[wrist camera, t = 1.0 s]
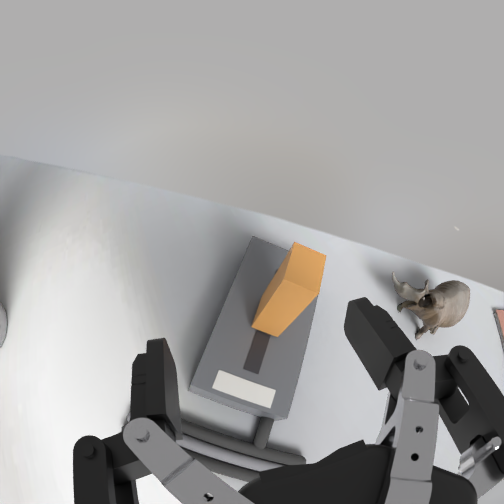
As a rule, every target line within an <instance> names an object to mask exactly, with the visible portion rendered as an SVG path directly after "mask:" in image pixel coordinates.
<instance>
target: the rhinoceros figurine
mask: <svg viewBox="0 0 504 504" xmlns="http://www.w3.org/2000/svg"><path fill="white" fill-rule="evenodd" d="M392 281H393V282H394V288H395V291H396V292H397V293H398V295H399V296H400V297H402V298H405V299H407V300H408V301H405V302H403V303H401V304H399V305H398V307H397V310H399V312H401V310H402V308H403V307H404V308H406V309H411V311H413V312H414V313H415V314H416V315H417V316H418V317H419V318H420V319H422V321H423V325H424V327H422V328H421V329H419V332H418V333H416V334H415V338H416V339H419V338H420V337H421V336H422V335H423V333H425V332H427V331H428V330H430V331H431V332H430V333H431V334H433V335H434V334H435V332H436V330H437V329H438V327H451V326H454V325H455V324H457V323H458V322H459V321H460V320H461V319H462V318H463V317H464V315H465V313H466V311H467V309H468V306H469V300H470V289H469V287H468V286H467V285H465V284H464V283H462V282H460V281H454V280H452V281H447V282H444V283H441V284H440V285H438V286H437V287H436V288H435V289H432V290H428V283H429V281H428V280H426V282H425V288H424V289H415V288H413V287H411V286H410V285H409V284H408V283H407V282H403V283H400V282H399V281H398V280H397V279H396V277H395V275H394V272H393V273H392ZM399 312H398V313H399Z"/></svg>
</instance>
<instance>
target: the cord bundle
mask: <svg viewBox="0 0 504 504" xmlns="http://www.w3.org/2000/svg"><path fill="white" fill-rule="evenodd" d="M127 421H128V422H129V421H130V413H129V414H128V415H127ZM273 422H274V419H272V418H269V417H264V416H262V417H261V420H260V423H259V426H258V429H257V432H256V435H255V438H254V441H253V444H252V443H249V442H245V441H242V440H239V439H236V438H233V437H230V436H227V435H224V434H221V433H218V432H215V431H212V430H209V429H207V428H204V427H201V426H199V425H196V424H193V423H191V422H188V421H186V420H183V419H181V426H182V433H185V434H187V435H190V436H192V437H195V438H198V439H200V440H203V441H206V442H209V443H212V444H214V445H212V444H209V443H206V442H203V441H200V440H198V439H195V438H192V437H190V436H187V435H185V434H182V435H183V440H176V444H177V445H179V446H181V447H184V448H186V449H184V448H182V449H183V450H184V451H185V452H186V453H187V454H188V455H190V456H191V457H192V458H195V459H196V460H197V461H199V462H200V463H201V464H202V465H204V466H205V467H206V468H207V469H209V470H210V471H212V472H215V473H219V474H222V475H225V476H229V477H232V478H236V479H240V480H243V481H247V482H250V481H252V480H253V479H255V478H257V477H259V472H256V471H264V470H269V469H273V468H277V467H281V466H285V465H301V464H306V459H305V458H304V457H303V456H299V455H294V454H290V453H286V452H282V451H278V450H274V449H270V448H266V444H267V441H268V438H269V435H270V432H271V428H272V425H273ZM126 425H127V424H126ZM126 425H124V426H123V427H122V431H123V430H124V428H125V427H126ZM215 445H217V446H215ZM218 446H220V447H218ZM221 447H223V448H221ZM224 448H226V449H224ZM187 449H189V450H192V451H194V452H192V451H189V450H187ZM227 449H230V450H233V451H236V452H239V453H236V452H233V451H230V450H227ZM195 452H197V453H200V454H203V455H206V456H209V457H212V458H215V459H218V460H221V461H224V462H227V463H230V464H227V463H224V462H221V461H218V460H215V459H212V458H209V457H206V456H203V455H200V454H197V453H195ZM240 453H243V454H246V455H250V456H253V457H250V456H246V455H243V454H240ZM254 457H257V458H261V459H264V460H261V459H257V458H254ZM265 460H268V461H265ZM269 461H272V462H269ZM273 462H277V463H281V464H285V465H281V464H277V463H273ZM231 464H234V465H237V466H234V465H231ZM238 466H241V467H244V468H241V467H238ZM245 468H248V469H252V470H256V471H252V470H248V469H245Z"/></svg>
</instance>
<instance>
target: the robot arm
mask: <svg viewBox="0 0 504 504" xmlns="http://www.w3.org/2000/svg"><path fill="white" fill-rule="evenodd" d="M6 330H7V317H6V312H5V309H4V307H3V305H2V304H1V302H0V347H1V346H2V344H3V341H4V339H5V335H6ZM344 331H345V335H346V337H347V339H348V340H349V342H350V344H351V345H352V347H353V349H354V350H355V352H356V353H357V355H358V357H359V358H360V360H361V362H362V363H363V365H364V367H365V368H366V370H367V372H368V373H369V375H370V377H371V378H372V380H373V382H374V383H375V385H376V387H377V388H378V390H381V389H384V388H386V387H387V388H388V389H389V393H388V397H387V403H386V408H385V413H384V418H383V423H382V427H381V430H380V433H379V435H378V437H377V440H376V443H375V444H366V445H365V443H364V441H363V440H360V441H358V442H355V443H353V444H350V445H348V446H345V447H342V448H340V449H338V450H336V451H335V452H333V453H332V454H330V455H329V456H327V457H325V458H324V459H322V460H320V461H319V462H317V463H314V464H301V465H285V466H281V467H277V468H273V469H269V470H264V471H260V472H259V477H257V478H255V479H253V480H252V481H250V482H248V483H247V484H246V485H245V486H243V487H242V488H241V489H240V490H239V491H238V492H237V491H236V490H234V489H233V488H232V487H230V486H229V485H228V484H226V483H225V482H224V481H222V480H221V479H220V478H219V477H217V476H216V475H215V474H213V473H212V472H211V471H210V470H209V469H207V468H206V467H205V466H204V465H202V464H201V463H200V462H199V461H197V460H196V459H195V458H192V457H191V456H190V455H188V454H187V453H186V452H185V451H184V450H183V449H182V448H181V447H180V446H178V445H177V444H176V440H183V435H182V426H181V417H180V407H179V396H178V384H177V372H176V366H175V362H174V359H173V357H172V354H171V352H170V349H169V346H168V344H167V341H166V339H165V338H160V339H153V340H148V341H147V350H146V353H143V354H138V355H137V357H136V359H135V361H134V362H133V364H132V382H131V384H132V386H131V412H130V421H129V423H128V424H127V425H126V427H125V428H124V430H123V431H122V432H120V433H118V434H116V435H113V436H111V437H108V438H105V439H102V440H100V439H99V438H97V437H95V436H84V437H82V438H80V439H79V440H78V441H77V442H76V444H75V446H74V449H73V483H74V503H75V504H139V501H138V495H137V488H136V479H138V478H141V477H144V476H147V475H149V474H152V473H153V474H154V475H155V476H156V477H157V478H158V479H159V481H160V482H161V483H162V484H163V486H164V487H165V488H166V489H167V490H168V491H169V492H170V493H171V494H173V495H174V496H175V497H176V498H177V499H178V500H179V501H180V502H181V503H182V504H477V499H478V498H480V497H481V496H482V495H484V494H485V493H486V492H488V491H489V490H490V489H491V488H492V487H494V486H495V485H496V484H497V483H499V482H500V481H502V480H504V396H503V394H502V393H501V391H500V390H499V388H498V387H497V385H496V384H495V382H494V381H493V380H492V378H491V377H490V375H489V374H488V373H487V371H486V370H485V368H484V367H483V366H482V364H481V363H480V361H479V360H478V359H477V357H476V356H475V355H474V353H473V352H472V351H471V350H470V349H469V348H467V347H465V346H455V347H453V348H452V349H451V351H450V352H449V354H448V355H441V356H432V355H431V354H429V353H428V352H426V351H423V350H417V349H416V348H415V347H414V346H413V344H412V343H411V342H410V340H409V339H408V338H407V337H406V335H405V334H404V333H403V331H402V330H401V329H400V328H399V327H398V325H397V324H396V323H395V321H393V319H392V318H391V316H390V315H389V314H388V313H387V311H385V310H384V309H382V308H381V307H379V306H378V305H376V306H373V305H372V304H371V302H370V301H369V300H368V299H367V298H366V297H363V298H359V299H355V300H352V301H349V303H348V307H347V313H346V318H345V323H344ZM458 387H459V388H460V389H461V391H462V392H463V394H464V396H465V397H466V399H467V400H468V402H469V405H468V404H467V402H466V400H465V399H464V397H463V396H462V394H461V393H460V391H459V389H458ZM439 415H440V417H441V418H442V420H443V422H444V424H445V426H446V427H447V429H448V431H449V433H450V435H451V437H452V438H453V440H454V442H455V444H456V446H457V448H458V450H459V452H460V454H461V457H460V465H459V467H458V470H459V472H461V473H462V476H460V475H457V474H455V473H452V472H449V471H446V470H444V469H441V468H439V467H436V466H433V461H434V454H435V447H436V439H437V430H438V419H439Z"/></svg>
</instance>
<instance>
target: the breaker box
mask: <svg viewBox="0 0 504 504" xmlns="http://www.w3.org/2000/svg"><path fill="white" fill-rule="evenodd" d="M288 252H289V251H288V250H285V249H283V248H281V247H278V246H276V245H273V244H271V243H269V242H266V241H264V240H262V239H259V238H257V237H254V236H253V237H252V239H251V241H250V244H249V246H248V248H247V251H246V253H245V256H244V258H243V260H242V263H241V265H240V267H239V270H238V272H237V274H236V277H235V279H234V282H233V284H232V286H231V289H230V291H229V293H228V296H227V298H226V301H225V303H224V305H223V308H222V310H221V312H220V315H219V317H218V320H217V322H216V324H215V327H214V329H213V332H212V334H211V336H210V339H209V341H208V344H207V346H206V348H205V351H204V353H203V356H202V358H201V360H200V363H199V365H198V368H197V370H196V372H195V375H194V377H193V380H192V382H191V384H190V387H189V390H188V391H190V392H193V393H195V394H198V395H200V396H203V397H205V398H208V399H210V400H213V401H215V402H218V403H221V404H224V405H226V406H229V407H232V408H235V409H238V410H240V411H243V412H246V413H249V414H252V415H256V416H259V417H262V416H264V417H269V418H272V419H274V421H278V420H283V419H287V418H288V414H289V411H290V407H291V404H292V400H293V396H294V393H295V389H296V385H297V382H298V378H299V374H300V370H301V366H302V362H303V358H304V354H305V350H306V346H307V342H308V338H309V334H310V329H311V325H312V320H313V316H314V311H315V307H316V302H317V297H318V295H317V296H316V297H315V298H314V299H313V300H312V302H311V303H310V304H309V305H308V306H307V307H306V308H305V309H304V310H303V311H302V312H301V313H300V314H299V315H298V317H297V318H296V319H295V320H294V321H293V322H292V323H291V324H290V325H289V326H288V327H287V328H286V329H285V330H284V331H283V332H282V333H281V334H280V335H279V336H278V337H275V336H273V335H270V334H268V333H265V332H262V331H260V330H257V329H255V328H252V327H251V326H252V323H253V320H254V317H255V314H256V312H257V309H258V306H259V303H260V300H261V297H262V295H263V293H264V292H265V290H266V289H267V287H268V285H269V284H270V282H271V280H272V279H273V277H274V275H275V274H276V272H277V270H278V269H279V267H280V265H281V264H282V262H283V260H284V259H285V257H286V255H287V254H288Z"/></svg>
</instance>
